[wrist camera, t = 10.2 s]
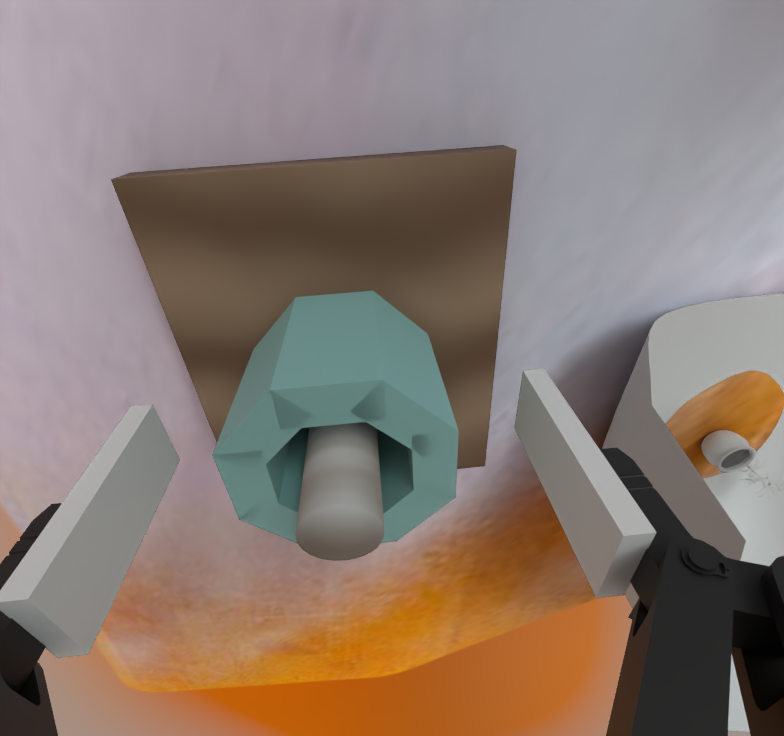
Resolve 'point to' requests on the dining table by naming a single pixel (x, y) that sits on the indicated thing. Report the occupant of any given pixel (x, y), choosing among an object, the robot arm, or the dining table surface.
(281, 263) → the shaft board
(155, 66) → the dining table surface
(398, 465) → the collar
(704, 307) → the bowl
